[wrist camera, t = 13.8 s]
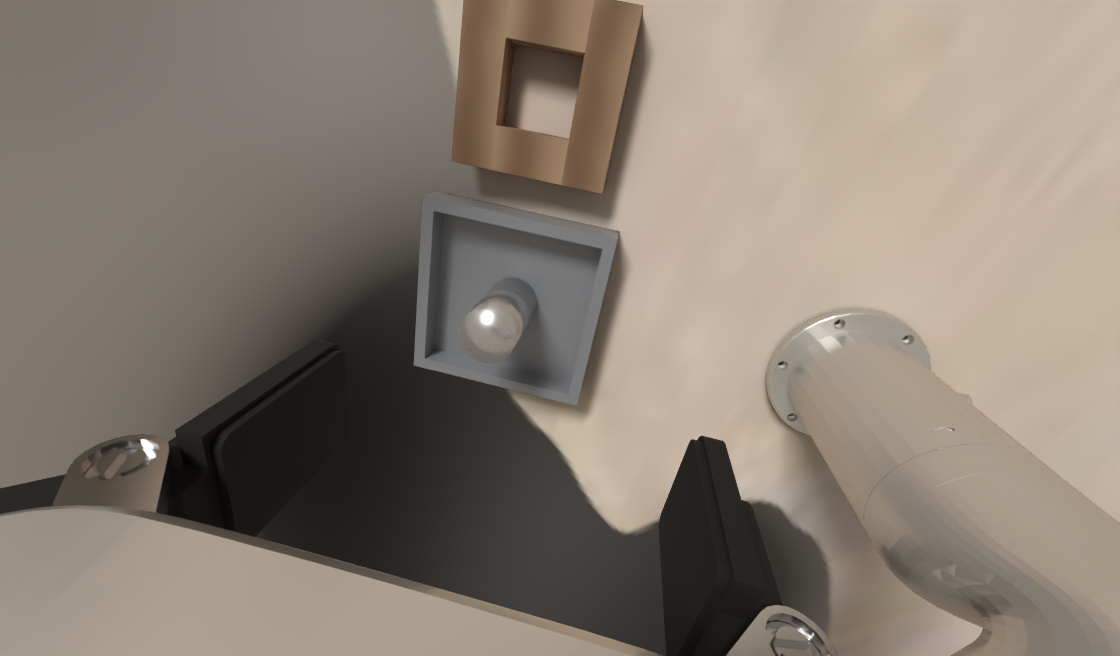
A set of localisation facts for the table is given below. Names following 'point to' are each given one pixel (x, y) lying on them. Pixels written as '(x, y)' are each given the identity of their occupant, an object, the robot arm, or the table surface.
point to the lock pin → (497, 321)
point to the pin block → (485, 71)
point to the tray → (502, 252)
